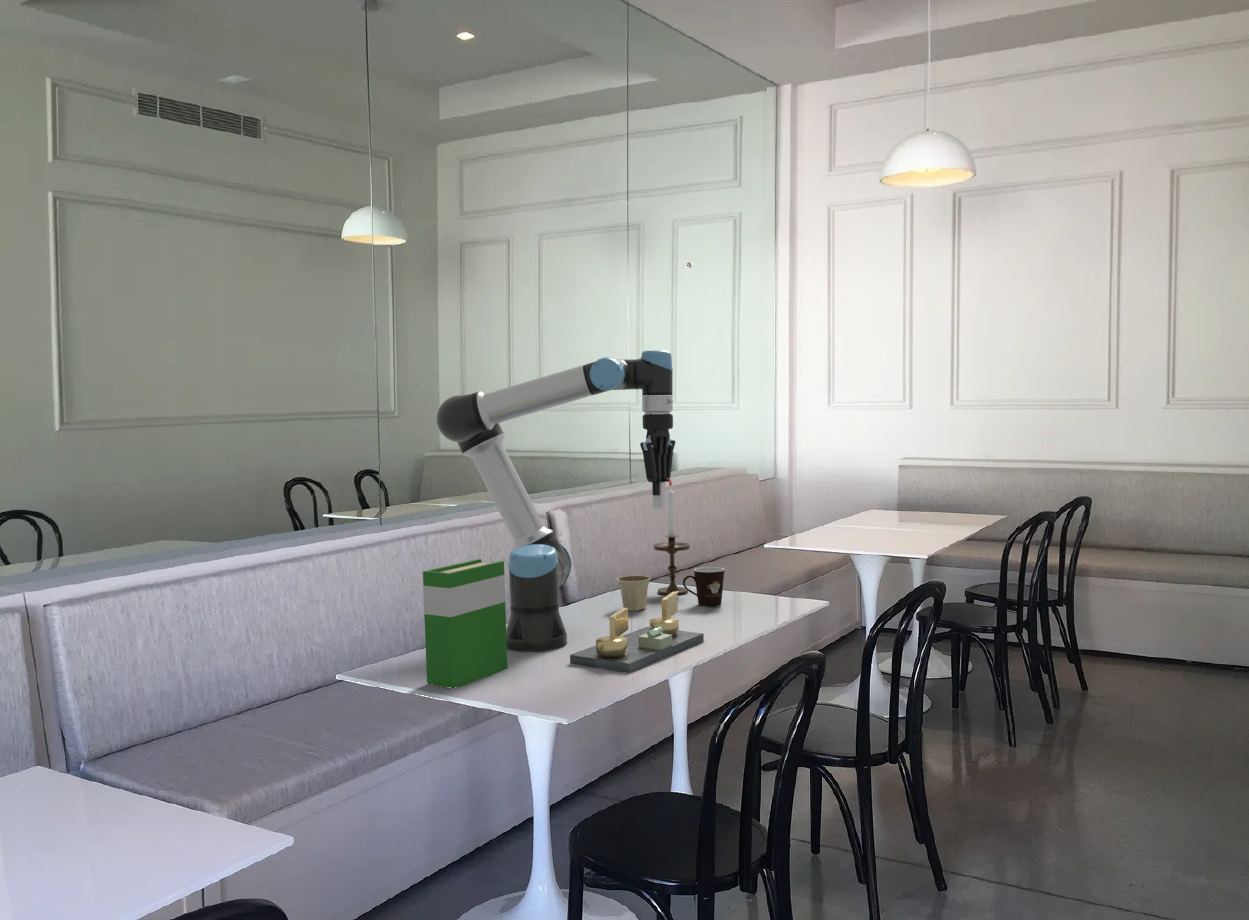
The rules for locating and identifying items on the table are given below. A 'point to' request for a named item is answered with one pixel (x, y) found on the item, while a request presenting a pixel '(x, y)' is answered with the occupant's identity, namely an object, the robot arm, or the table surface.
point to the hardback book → (464, 622)
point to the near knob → (614, 636)
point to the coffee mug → (708, 585)
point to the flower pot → (634, 591)
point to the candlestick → (671, 548)
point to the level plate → (640, 650)
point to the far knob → (667, 616)
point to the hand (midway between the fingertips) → (659, 508)
